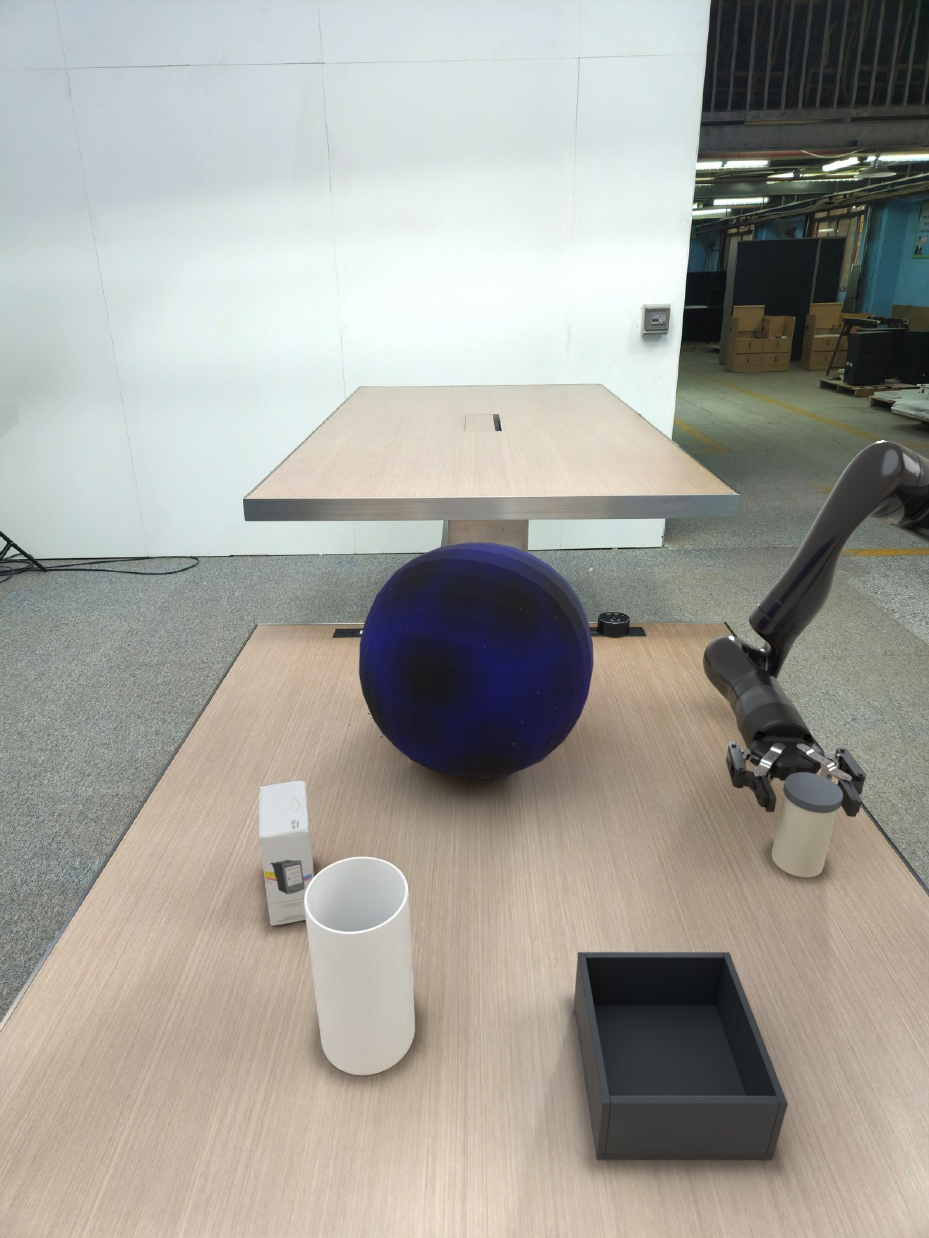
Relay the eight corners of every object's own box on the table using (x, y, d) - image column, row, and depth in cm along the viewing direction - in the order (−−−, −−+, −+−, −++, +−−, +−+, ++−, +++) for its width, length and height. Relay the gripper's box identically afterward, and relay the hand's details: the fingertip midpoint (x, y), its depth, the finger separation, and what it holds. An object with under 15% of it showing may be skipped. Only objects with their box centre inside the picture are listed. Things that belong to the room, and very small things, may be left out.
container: (812, 842, 87) (828, 771, 83) (834, 878, 82) (853, 805, 78) (762, 842, 87) (776, 772, 83) (781, 879, 82) (797, 805, 78)
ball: (296, 791, 97) (269, 574, 84) (394, 678, 123) (384, 501, 111) (560, 850, 86) (574, 612, 74) (604, 713, 113) (619, 522, 101)
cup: (403, 1082, 62) (394, 940, 55) (307, 1067, 63) (287, 926, 56) (423, 996, 69) (418, 861, 62) (337, 984, 70) (323, 851, 63)
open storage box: (719, 1004, 68) (729, 951, 65) (772, 1159, 56) (788, 1103, 53) (573, 1004, 68) (577, 951, 65) (596, 1159, 56) (602, 1103, 53)
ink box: (268, 869, 84) (255, 783, 79) (314, 861, 85) (304, 776, 80) (269, 929, 76) (255, 838, 71) (320, 920, 77) (309, 829, 72)
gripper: (717, 698, 94) (750, 776, 80) (835, 703, 93) (890, 783, 78) (709, 748, 97) (740, 832, 83) (823, 753, 96) (874, 839, 81)
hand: (813, 808), depth 81 cm, fingers open, 8 cm apart
